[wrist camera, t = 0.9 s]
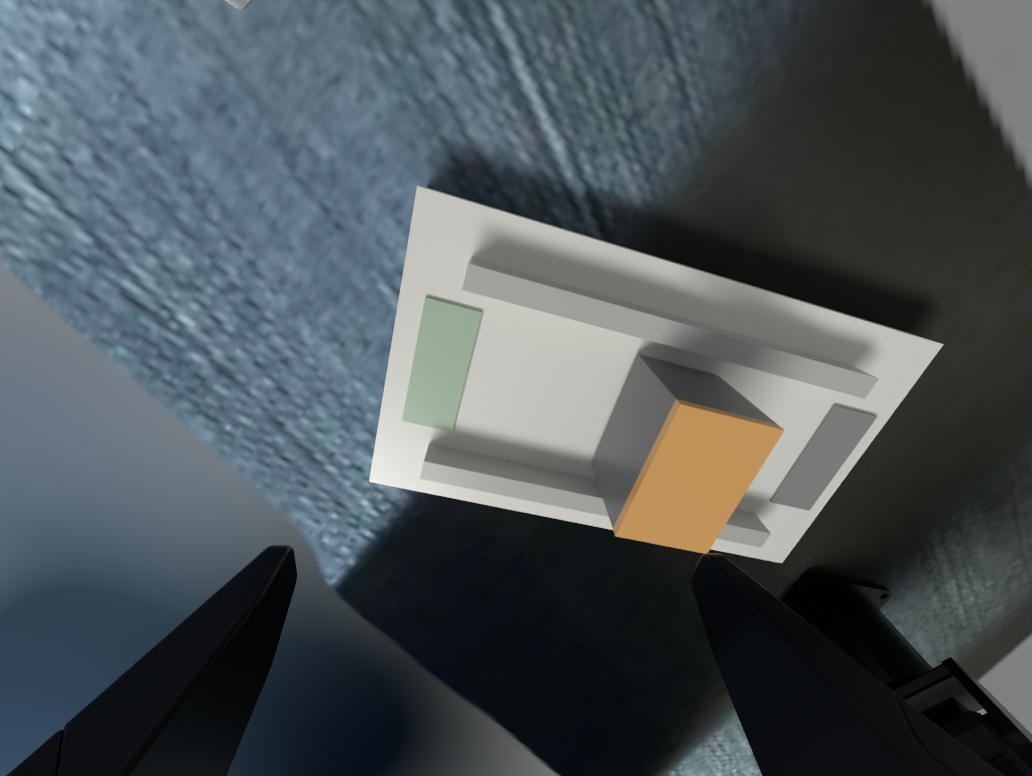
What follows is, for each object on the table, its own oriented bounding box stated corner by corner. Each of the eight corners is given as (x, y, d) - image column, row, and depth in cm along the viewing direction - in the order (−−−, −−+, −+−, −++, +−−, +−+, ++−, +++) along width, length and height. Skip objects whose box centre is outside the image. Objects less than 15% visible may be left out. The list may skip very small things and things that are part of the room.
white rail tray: (904, 331, 21) (978, 355, 17) (762, 537, 26) (798, 584, 23) (425, 186, 17) (409, 184, 14) (379, 458, 23) (359, 501, 20)
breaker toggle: (717, 375, 19) (784, 430, 14) (663, 479, 21) (706, 554, 17) (637, 353, 18) (680, 404, 14) (590, 463, 21) (615, 536, 16)
